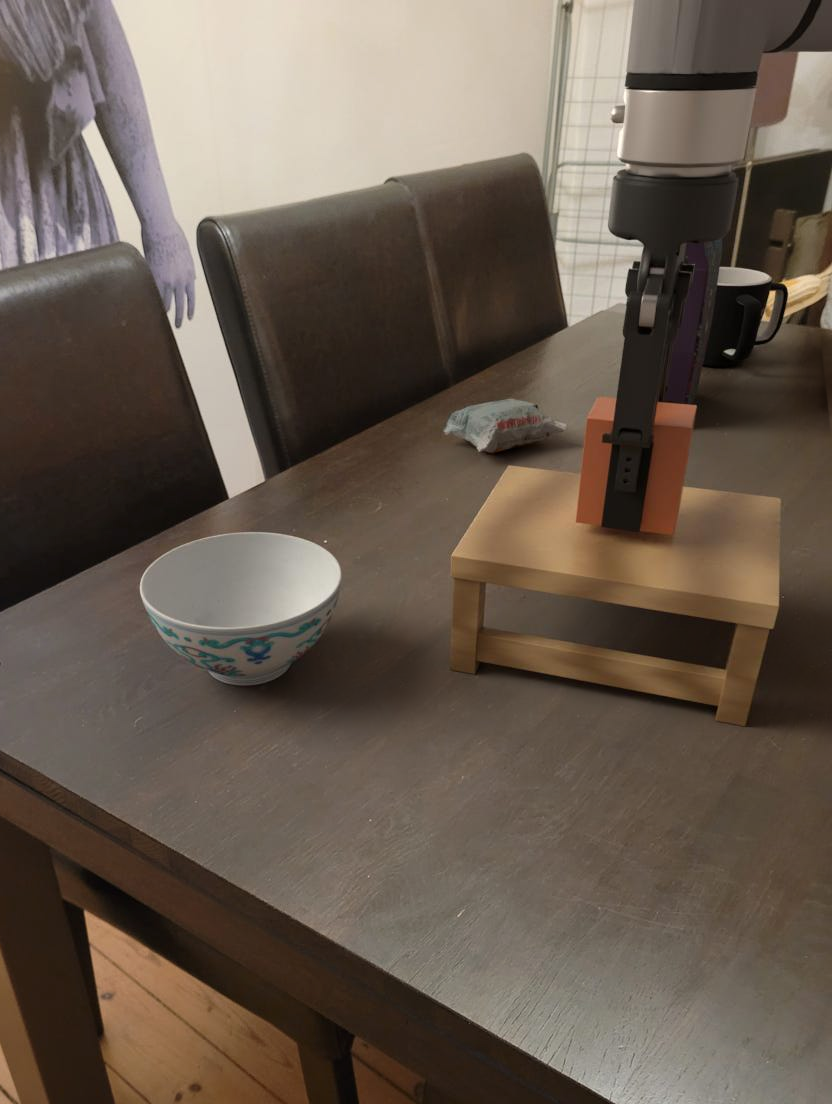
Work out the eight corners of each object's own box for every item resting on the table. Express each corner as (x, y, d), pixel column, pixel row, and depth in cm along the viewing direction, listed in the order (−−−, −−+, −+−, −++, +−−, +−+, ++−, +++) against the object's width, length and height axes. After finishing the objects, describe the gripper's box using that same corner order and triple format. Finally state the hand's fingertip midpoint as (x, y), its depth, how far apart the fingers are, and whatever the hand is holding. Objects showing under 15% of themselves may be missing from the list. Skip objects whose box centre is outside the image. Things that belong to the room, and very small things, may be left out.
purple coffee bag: (615, 423, 120) (648, 176, 105) (638, 385, 132) (670, 160, 117) (683, 431, 117) (726, 179, 102) (700, 391, 129) (740, 162, 114)
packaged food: (563, 448, 113) (567, 407, 110) (479, 467, 108) (481, 424, 106) (520, 426, 120) (523, 387, 117) (439, 444, 115) (440, 403, 113)
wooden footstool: (755, 606, 81) (781, 497, 76) (748, 728, 67) (779, 605, 62) (501, 567, 88) (508, 465, 83) (446, 670, 74) (451, 555, 69)
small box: (679, 508, 73) (697, 405, 68) (673, 535, 69) (691, 428, 64) (586, 496, 75) (597, 396, 71) (575, 522, 71) (586, 418, 67)
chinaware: (265, 595, 84) (259, 515, 80) (383, 663, 75) (383, 576, 71) (117, 660, 76) (101, 575, 72) (228, 746, 67) (218, 653, 62)
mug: (739, 383, 132) (756, 293, 126) (634, 362, 142) (646, 277, 135) (787, 357, 142) (806, 272, 136) (687, 339, 152) (700, 259, 145)
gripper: (633, 151, 67) (594, 462, 80) (591, 184, 53) (552, 556, 66) (745, 153, 65) (687, 473, 78) (734, 188, 51) (665, 573, 63)
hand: (625, 511), depth 72 cm, fingers closed on small box, 5 cm apart
